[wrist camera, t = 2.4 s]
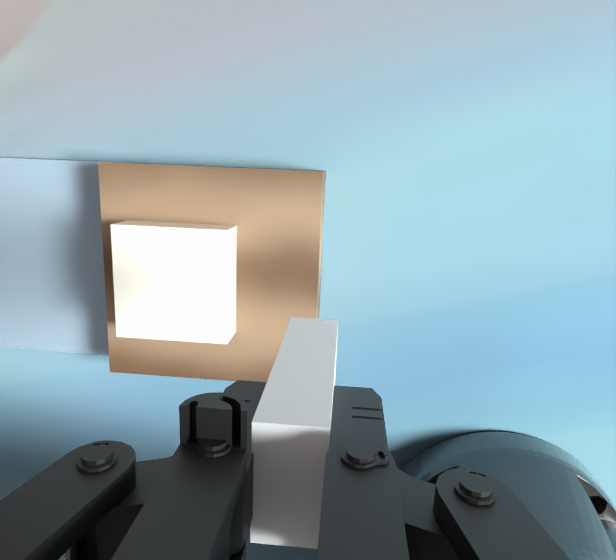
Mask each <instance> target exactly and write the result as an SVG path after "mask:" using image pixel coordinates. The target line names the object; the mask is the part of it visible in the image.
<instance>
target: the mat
mask: <svg viewBox="0 0 616 560" xmlns="http://www.w3.org/2000/svg"><path fill="white" fill-rule="evenodd" d="M112 163H120V162H112ZM0 348H14V349H28V350H43V351H57V352H71V353H85V354H99V355H109V346H108V328H107V311H106V293H105V276H104V258H103V241H102V223H101V206H100V188H99V171H98V162H96V161H71V160H47V159H23V158H0Z"/></svg>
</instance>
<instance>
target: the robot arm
mask: <svg viewBox="0 0 616 560" xmlns="http://www.w3.org/2000/svg"><path fill="white" fill-rule="evenodd" d="M337 335H338V320H329V319H313V318H297V317H291V320H290V323H289V325H288V328H287V331H286V333H285V336H284V338H283V341H282V344H281V346H280V349H279V352H278V354H277V357H276V360H275V362H274V365H273V367H272V370H271V373H270V375H269V378H268V381H267V382H258V381H244V380H238V381H236V382H235V383H233V384H231V385H230V386H228V387H227V388H226V389H225V390H224V392H223V393H205V394H200V395H196V396H194V397H191V398H189V399H187V400H185V401H184V402H183V403H182V404H181V405H179V414H180V445H179V447H178V449H177V450H176V452H175V454H174V455H173V456H171V457H168V458H163V459H158V460H149V461H141V462H136V456H135V451H134V450H133V449H132V447H131V446H129V445H127V444H125V443H123V442H116V441H102V442H101V441H98V442H93V443H91V444H87V445H84V446H81V447H79V448H77V449H75V450H73V451H71V452H70V453H68V454H67V455H65V456H64V457H62V458H61V459H59V460H58V461H57V462H55V463H54V464H52V465H51V466H49V467H48V468H47V469H45V470H44V471H42V472H41V473H39V474H38V475H37V476H35V477H34V478H32V479H31V480H29V481H28V482H27V483H25V484H24V485H22V486H21V487H19V488H18V489H17V490H15V491H14V492H12V493H11V494H10V495H8V496H7V497H5V498H4V499H2V500H1V501H0V560H58V559H59V558H60V557H61V556H62V555H63V554H64V553H65V555H66V560H246V539H247V535H248V531H249V528H250V543H259V544H270V545H280V546H290V547H301V548H311V549H317V560H616V508H615V506H614V504H613V503H612V501H611V499H610V498H609V497H608V495H607V494H606V493H605V491H604V490H603V489H602V488H601V486H600V485H599V484H598V482H597V481H596V480H595V479H594V477H593V476H592V475H591V473H590V472H589V471H588V470H587V469H586V468H585V467H584V466H583V465H582V464H581V463H580V462H579V461H578V460H576V459H575V458H574V457H573V456H571V455H570V454H568V453H567V452H565V451H564V450H562V449H560V448H559V447H557V446H555V445H553V444H551V443H548V442H546V441H543V440H541V439H538V438H534V437H531V436H527V435H523V434H517V433H509V432H480V433H472V434H467V435H462V436H458V437H455V438H451V439H449V440H446V441H443V442H441V443H439V444H436V445H434V446H432V447H430V448H429V449H427V450H425V451H423V452H422V453H420V454H419V455H417V456H416V457H415V458H413V459H412V460H411V461H410V462H409V463H407V464H406V465H405V466H404V467H403V468H402V469H401V470H400V469H399V468H397V467H396V464H395V460H394V458H393V456H392V454H391V453H390V452H389V451H388V445H387V437H386V430H385V422H384V414H383V407H382V399H381V397H380V396H379V395H378V394H377V393H376V392H375V391H374V390H373V389H372V388H360V387H347V386H335V371H336V353H337Z"/></svg>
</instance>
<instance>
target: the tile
mask: <svg viewBox="0 0 616 560" xmlns="http://www.w3.org/2000/svg"><path fill="white" fill-rule="evenodd" d="M236 233H237V226H236V225H216V224H196V223H176V222H156V221H136V220H126V221H122V222H118V223H114V224H111V243H112V262H113V281H114V300H115V319H116V337H126V338H141V339H156V340H171V341H185V342H200V343H215V344H228V343H229V341H230V340H231V338H232V337H233V335H234V334H235V332H236Z"/></svg>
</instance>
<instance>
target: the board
mask: <svg viewBox="0 0 616 560" xmlns="http://www.w3.org/2000/svg"><path fill="white" fill-rule="evenodd" d="M98 171H99V188H100V206H101V223H102V241H103V258H104V276H105V293H106V311H107V328H108V346H109V363H110V372H118V373H132V374H146V375H159V376H173V377H187V378H200V379H214V380H228V381H238V380H244V381H258V382H267V381H268V378H269V375H270V373H271V370H272V367H273V365H274V362H275V360H276V357H277V354H278V352H279V349H280V346H281V344H282V341H283V338H284V336H285V333H286V331H287V328H288V325H289V323H290V320H291V317H297V318H313V319H319V306H320V285H321V263H322V242H323V220H324V199H325V177H326V171H312V170H288V169H264V168H240V167H216V166H192V165H168V164H144V163H112V162H98ZM126 220H136V221H156V222H176V223H196V224H216V225H236V226H237V233H236V332H235V334H234V335H233V337H232V338H231V340H230V341H229V343H228V344H215V343H200V342H185V341H171V340H156V339H141V338H126V337H116V319H115V300H114V281H113V262H112V243H111V224H114V223H118V222H122V221H126Z"/></svg>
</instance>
